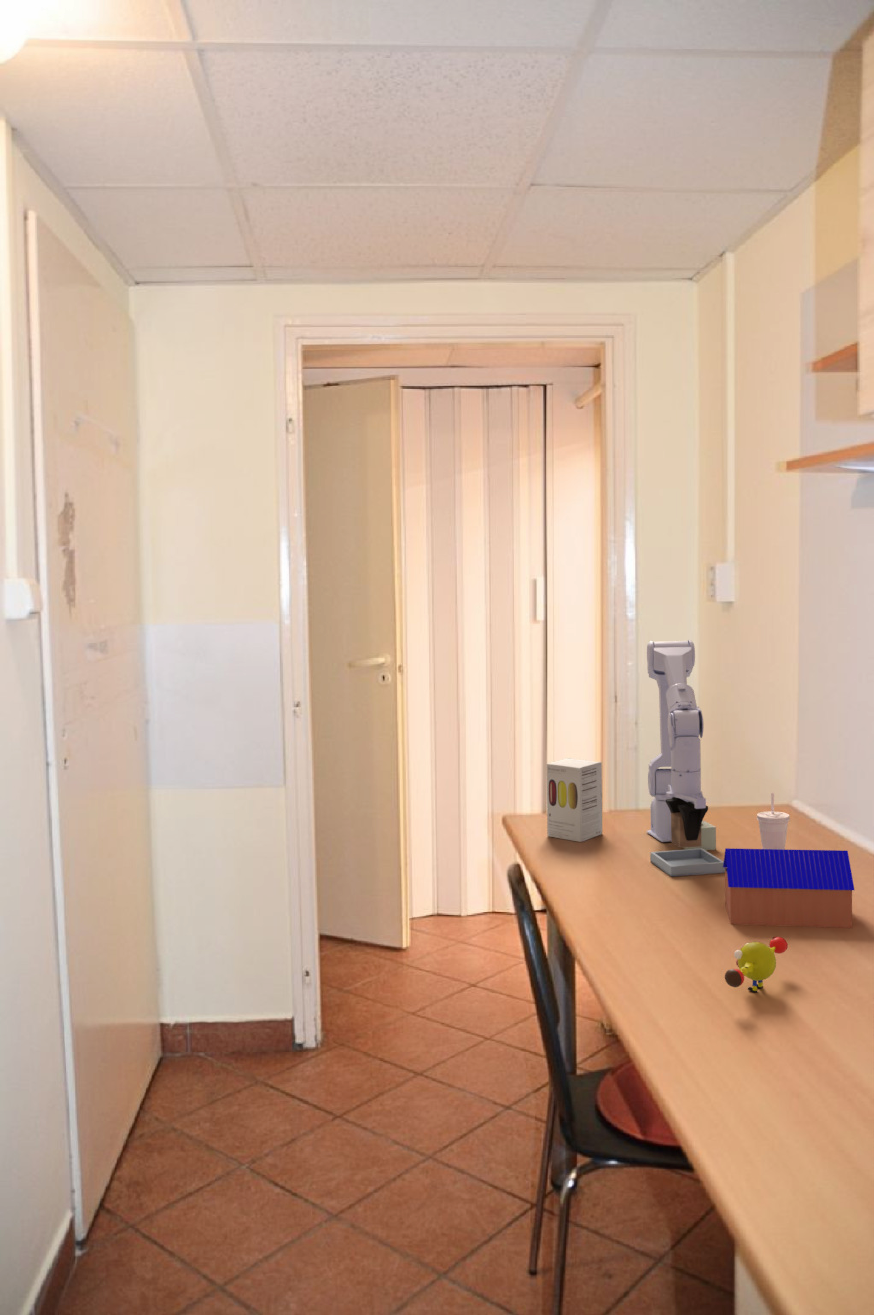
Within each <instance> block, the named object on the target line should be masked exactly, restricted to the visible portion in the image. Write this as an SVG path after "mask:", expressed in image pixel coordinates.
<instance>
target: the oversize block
mask: <svg viewBox="0 0 874 1315" xmlns="http://www.w3.org/2000/svg"><path fill="white" fill-rule="evenodd" d="M700 848H702V849H704V850H706V851H716V850H717V826H714V825H713V824H711V823H709V822H708V821H705V820H702V823H701V846H699V847H685V848H683V850H686V849H700Z"/></svg>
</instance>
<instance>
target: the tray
mask: <svg viewBox="0 0 874 1315" xmlns="http://www.w3.org/2000/svg"><path fill="white" fill-rule="evenodd" d="M649 857H650V858H649V859H650V863H652V864H653V865H654V866H656V867H657V868H659V869H660V870H661V871H662V872H664V873H665V874H666V875H667V876H669V877H671V878H672V877H673V878H674V877H685V876H698V875H700V876H701V875H710V874H723V873H724V874H725V867H723V863H724V860H722V859H720V858H718V857H717V856H715V855H714V854H712V853H711V852H709V851H708V850H704V849H702V848H700V849H673V850H661V851H651V852H650V856H649Z"/></svg>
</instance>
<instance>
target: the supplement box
mask: <svg viewBox="0 0 874 1315" xmlns="http://www.w3.org/2000/svg"><path fill="white" fill-rule="evenodd" d="M602 765H603V763H602V761H595V760H594V761H592V760H587V759H579V758H578V759H577V758H571V757H570V758H569V757H567V758H563V759H560V760H556V761H552V762H547V763H546V812H547V813H546V816H547V819H546V820H547V822H546V823H547V825H546V826H547V827H546V828H547V830H546V832H547V833H546V834H547V835H546V836H547V837H550V838H556V839H562V840H565V841H566V840H567V841H572V842H579V843H583V842H585V841H588V840H590V839H593V838H595V837H598V836H601V835H602V834H603V778H602V777H603V776H602V775H603V774H602V773H603V772H602V771H603V769H602V768H603V766H602Z"/></svg>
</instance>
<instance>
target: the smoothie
mask: <svg viewBox="0 0 874 1315" xmlns="http://www.w3.org/2000/svg"><path fill="white" fill-rule="evenodd" d="M756 815H757V816H756V820H757V821H758V825H759V826H758V827H759V834H760V842H761V849H785V850H786V842H787V834H788V826H789V822H790V821H791V819H790V814H789V813H787V812H781V811H775V793H774V792H771V793H770V810H769V811H761V812H757V814H756Z"/></svg>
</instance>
